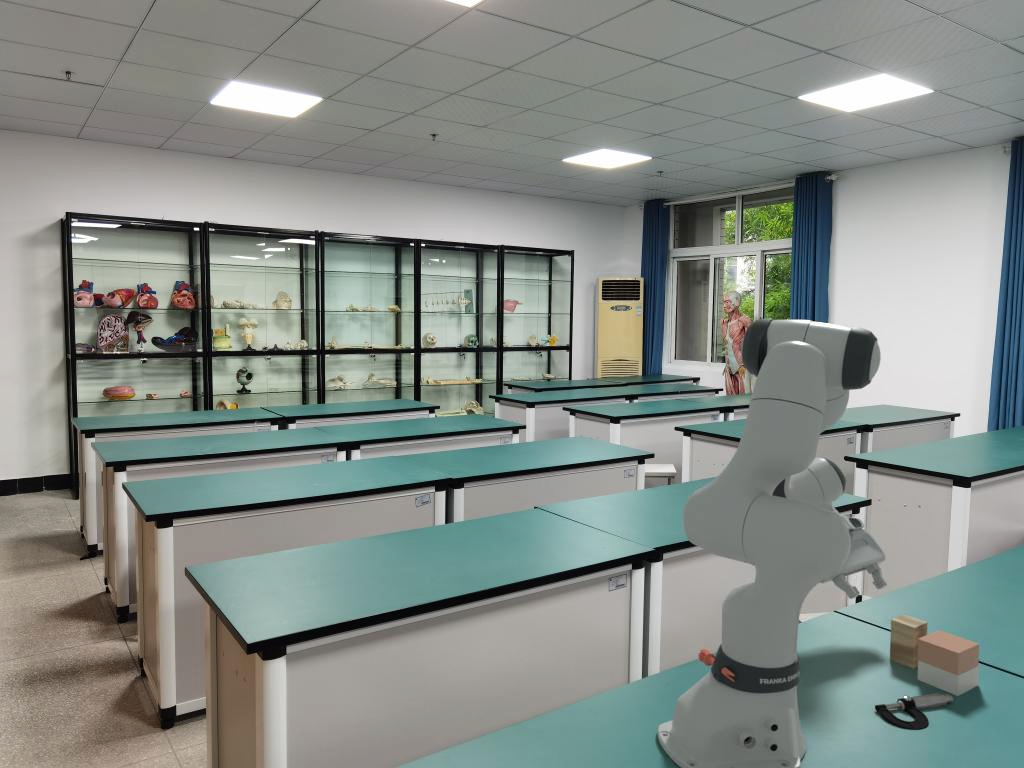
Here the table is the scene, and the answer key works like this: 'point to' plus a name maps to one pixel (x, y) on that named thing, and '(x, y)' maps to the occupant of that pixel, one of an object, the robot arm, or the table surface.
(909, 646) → the oak block
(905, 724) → the micrometer
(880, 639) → the table surface
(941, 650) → the terracotta tower block
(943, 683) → the off-white tower block
